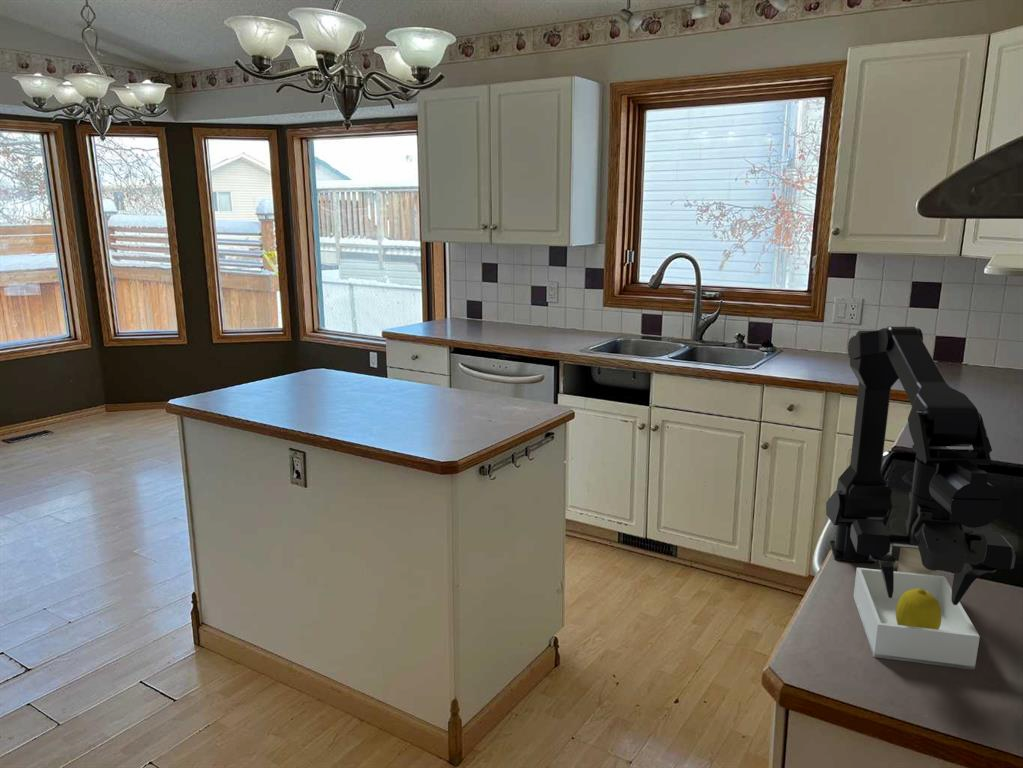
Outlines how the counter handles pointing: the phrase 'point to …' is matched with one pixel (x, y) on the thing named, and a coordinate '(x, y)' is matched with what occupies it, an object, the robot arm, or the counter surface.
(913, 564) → the birch peg
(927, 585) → the tote
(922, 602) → the lemon
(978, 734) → the counter surface
